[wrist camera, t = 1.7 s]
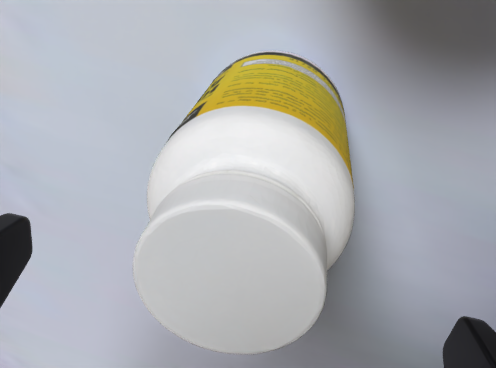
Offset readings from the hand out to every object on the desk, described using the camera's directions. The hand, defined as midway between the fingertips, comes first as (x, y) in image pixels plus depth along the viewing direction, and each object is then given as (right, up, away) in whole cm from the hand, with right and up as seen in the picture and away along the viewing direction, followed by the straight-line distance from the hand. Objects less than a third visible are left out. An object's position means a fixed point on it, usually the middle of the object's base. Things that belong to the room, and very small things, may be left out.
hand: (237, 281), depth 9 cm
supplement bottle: (+1, +5, +8) cm, 10 cm away
